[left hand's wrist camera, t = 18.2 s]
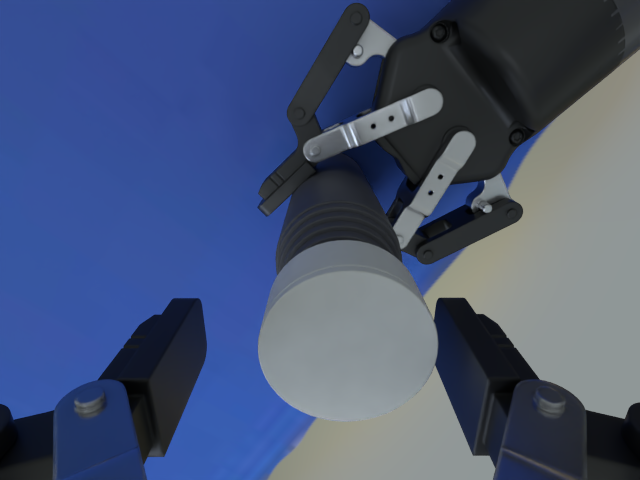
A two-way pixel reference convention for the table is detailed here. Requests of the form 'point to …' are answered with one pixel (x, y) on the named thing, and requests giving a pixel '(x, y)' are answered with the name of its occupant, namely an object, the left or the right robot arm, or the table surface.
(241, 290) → the table surface
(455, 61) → the right robot arm
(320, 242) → the bottle
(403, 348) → the cap
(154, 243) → the table surface
